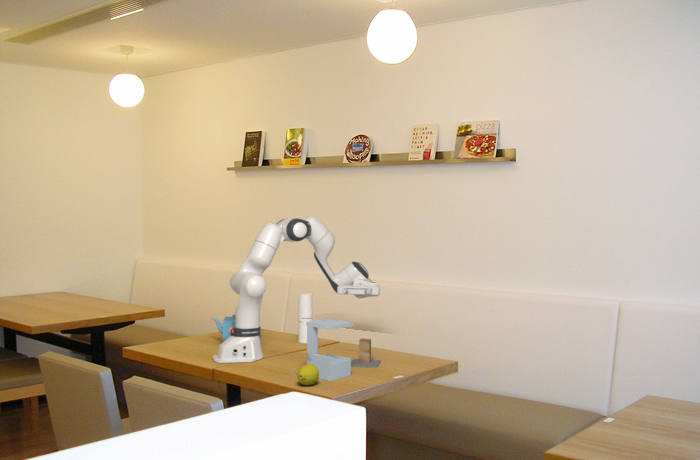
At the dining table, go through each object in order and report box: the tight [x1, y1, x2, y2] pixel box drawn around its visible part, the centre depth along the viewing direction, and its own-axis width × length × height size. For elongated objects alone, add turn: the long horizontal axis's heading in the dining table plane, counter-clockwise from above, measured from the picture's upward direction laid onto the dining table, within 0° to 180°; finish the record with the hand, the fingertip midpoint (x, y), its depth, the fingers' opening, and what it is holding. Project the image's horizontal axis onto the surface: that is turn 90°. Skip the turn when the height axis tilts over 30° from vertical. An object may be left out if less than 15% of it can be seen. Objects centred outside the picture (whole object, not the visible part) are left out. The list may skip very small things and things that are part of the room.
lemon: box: [296, 363, 320, 386], centre depth 237 cm, size 11×8×8 cm
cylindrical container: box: [297, 292, 313, 344], centre depth 324 cm, size 7×7×25 cm
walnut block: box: [358, 338, 372, 364], centre depth 274 cm, size 4×4×10 cm
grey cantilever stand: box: [306, 318, 355, 382], centre depth 253 cm, size 13×14×22 cm
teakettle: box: [210, 314, 235, 342], centre depth 319 cm, size 19×19×15 cm
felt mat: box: [351, 358, 382, 368], centre depth 274 cm, size 12×12×1 cm
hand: (356, 291), depth 287 cm, fingers open, 8 cm apart
